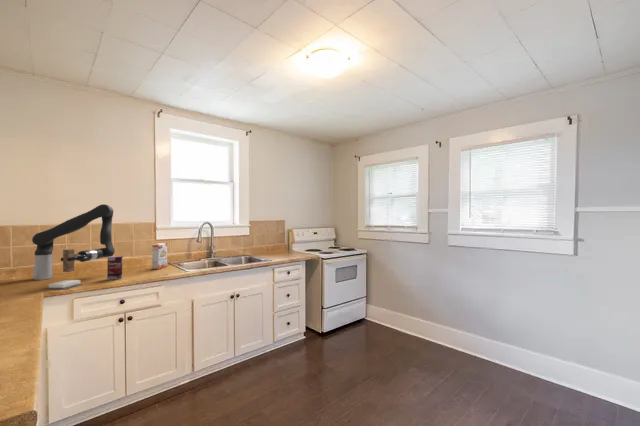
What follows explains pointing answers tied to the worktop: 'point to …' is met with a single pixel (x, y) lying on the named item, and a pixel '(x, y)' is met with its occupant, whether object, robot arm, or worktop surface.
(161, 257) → the cracker box
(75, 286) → the mat
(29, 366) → the worktop surface
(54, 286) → the teal book
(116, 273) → the supplement box
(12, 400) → the worktop surface
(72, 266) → the walnut block
